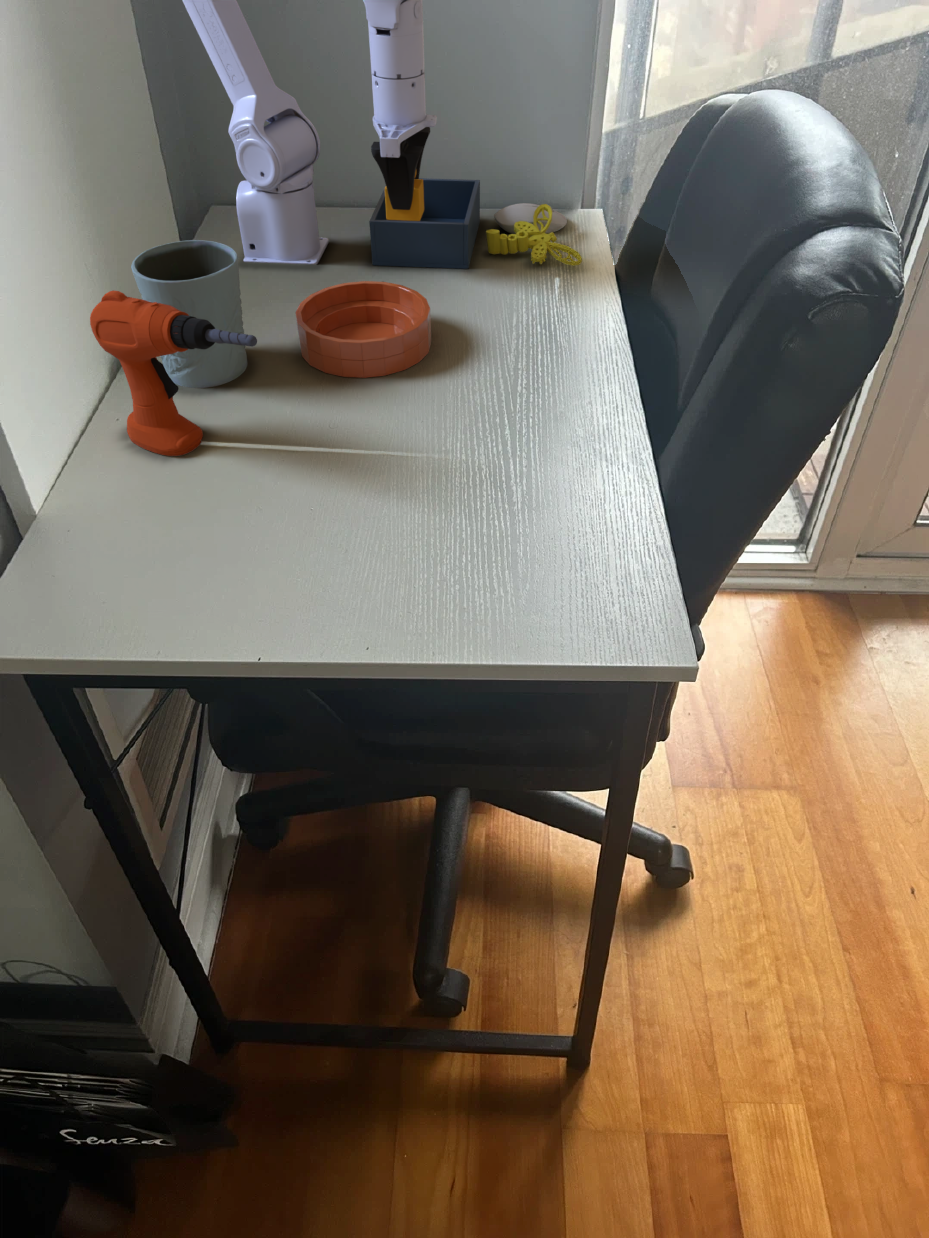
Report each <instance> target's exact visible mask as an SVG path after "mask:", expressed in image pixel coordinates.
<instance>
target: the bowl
mask: <svg viewBox="0 0 929 1238" xmlns="http://www.w3.org/2000/svg"><path fill="white" fill-rule="evenodd" d="M294 314H295V320H296V327H297V334H298V343H299V349H300V355H301V357H302V359H304V361H305V362H306V363H307V364H308V365H309V366H311V367H313V368H314V369H316V370H318V371H321V372H323V373H325V374H329V375H333V376H337V377H343V378H359V379H366V378H367V379H368V378H376V377H384V376H389V375H392V374H395V373H399V372H402V371H406V370H408V369H409V368H411V367H413V366H415V365H417V364H418V363H420V362H421V361H422V360H423V359H424V358H425V357H426V356H427V355H428V354H429V352H430V348H431V345H432V320H431V319H432V318H431V307H430V304H429V302H428V300H427V298H426V297H425V296H424V295H422V294H421V293H420V292H419V291H417V290H415V289H412V288H410V287H408V286H405V285H403V284H398V283H394V282H388V281H375V280H373V281H372V280H361V281H350V282H342V283H338V284H335V285H329V286H326V287H325V288H322V289H320V290H317V291H316V292H313V293H310V295H308V296H307V297H306V298H305V299H303V300H302V301H301V302H300V303H299V305H298V306H297V309H296V310H295V313H294Z"/></svg>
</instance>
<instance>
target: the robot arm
mask: <svg viewBox="0 0 929 1238" xmlns="http://www.w3.org/2000/svg"><path fill="white" fill-rule="evenodd" d="M181 1H182V3H183V5H184V7H185V10H186V12H187V13H188V16H189V17H190V20H191V22H192V24H193V27H194V28H195V30H196V33H197V35H198V36H199V38H200V40H201V42H202V45H203V46H204V49H205V52H206V53H207V55H208V56H209V60H210V61H211V63H212V65H213V67H214V69H215V71H216V73H217V75H218V77H219V79H220V81H221V83H222V86H223V88H224V90H225V92H226V94H227V96H228V98H229V100H230V102H231V104H232V107H233V111H232V114H231V118H230V122H229V125H228V134H229V136H230V139H231V141H232V143H233V146H234V151H235V157H236V163H237V166H238V169H239V171H240V173H241V174H242V176H243V178H245V180H241V181H240V182H239V183H238V186H237V188H236V195H235V196H236V197H235V198H236V199H235V201H236V203H235V204H236V214H237V221H238V226H239V227H238V228H239V231H240V232H239V233H240V239H241V243H242V248H243V254H244V258H243V259H242V261H243V262H244V263H264V264H292V265H313V266H315V265H318V264H319V262H320V260H321V258H322V256H323V254H324V253H325V250H326V248H327V247H328V244H329V243H330V239H329V238H328V237H320V232H319V224H318V223H319V222H318V215H317V206H316V198H315V190H314V180H313V176H314V174H315V171H314V164H315V163H316V162H318V159H319V157H320V154H321V139H320V137H319V136H320V135H319V133H318V131H317V128H316V127H315V126H314V124H313V123H312V121H311V120H310V119H309V118H308V117H307V116H306V115H305V114H304V112H303V111H302V110H301V108H300V106H299V103H298V102H297V99H296V98H295V97H294V96H292V95H290V94H289V93H288V92H286V91H284V90H282V89H281V88H279V87H278V86H277V85H276V83H275V81H274V79H273V77H272V74H271V72H270V70H269V68H268V65H267V64H266V61H265V59H264V57H263V55H262V53H261V51H260V48H259V47H258V44H257V42H256V39H255V37H254V34H253V33H252V31H251V29H250V26H249V25H248V22H247V20H246V18H245V16H244V14H243V11H242V9H241V7H240V5H239V2H238V1H237V0H181ZM362 2H363V3H364V4H363V5H364V8H365V15H366V16H365V17H366V21H367V26H368V27H367V28H368V41H369V43H368V45H369V55H370V56H369V58H370V73H371V90H372V102H373V103H372V105H373V116H372V125H373V129H374V130H375V131H376V133H377V135H378V138H379V141H373V143H372V144H371V146H370V152H371V156H372V158H373V159H374V160H375V162H376V164H377V167H378V168H379V170H380V172H381V174H382V177H383V181H384V183H385V186H386V188H387V191H388V195H389V199H390V202H391V206H392V208H393V209H397V210H410V208H411V204H412V199H413V190H414V179H419V178H420V172H421V165H422V158H423V154H424V151H425V147H426V144H427V141H428V138H429V136H430V134H431V128H434V127H436V125H437V123H438V116H437V115H435V114H427V107H426V106H427V105H426V102H427V101H426V75H425V74H426V73H425V71H426V70H425V68H426V67H425V41H424V40H425V39H424V37H425V36H424V13H423V11H424V10H423V8H424V7H423V0H362ZM266 122H267V123H268V124H266V125H265V123H266ZM415 172H416V177H415Z"/></svg>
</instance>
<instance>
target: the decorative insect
mask: <svg viewBox="0 0 929 1238" xmlns="http://www.w3.org/2000/svg"><path fill="white" fill-rule="evenodd" d="M539 205H540V206H539V207H537V209H536V210H535V212H534V216H533V224H534V225H533V224H531V223H528V222H525V221H518V222H516V223H515V224H514V232H516V234H511V233H509V234H505V233H501V234H500V229H494V228H491V229H486V231H485V236H486V245H487V252H488V254H491V255H498V254H501V255H505V256H506V255H508V254H511V255H512V254H514V255H515V254H517V253H518V252H520V253H526V252H527V251H529V249H530V250H531V252H530V261H531V262H532V263H531V264H532V265H533V264H535V263H539V265H542V264H543V263H545V262H546V259H547V253H548V254H549V255H550V256H551V257H553V258H554V259H555V260H556V261H558V262H560V263H562V264H564V265H567V266H572V267H575V266H579V265H582V262H583V257H582V254H580V252H579V251H578V250H576V249H574V248H572V247H570V246H568V245H565V244H562V243H558V242H557V241H558V238H557V236H556V234H555V232H551V233H545V232H546V230H547V229H548V228H549V226H550V223H551V221H552V210H551V208H552V206H551V205H548V204H547V203H541V204H539ZM544 210H545V211H547V212H548V214H549V218H547V217H546V216H545V213H544ZM541 211H542V215H543V218H537V217H538V215H539V214H540V212H541ZM540 220H541V221H542V220H543V221H544V220H545V221H546V220H547V221H548V222H547V224H546V226H545V227H544V225H543V224H542V222H540ZM537 222H538V224H540V225H541V230H539V228H538V226H537V224H536V223H537ZM561 252H563V253H565V254H567V255H566V257H563V255H562V253H561ZM572 257H573V258H574V259H576V260H574V259H573V258H572Z"/></svg>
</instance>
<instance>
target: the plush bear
mask: <svg viewBox="0 0 929 1238" xmlns="http://www.w3.org/2000/svg"><path fill="white" fill-rule="evenodd" d="M415 177H416V172H415ZM384 188H385V203H386V219H387V220H404V221H420V220H421V217H422V214H423V212H424V188H423V179H414V190H413V199H412V204H411V208H410V210H397V209H393V208H392V206H391V202H390V199H389V195H388V191H387V188H386V187H385V186H384Z"/></svg>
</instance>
